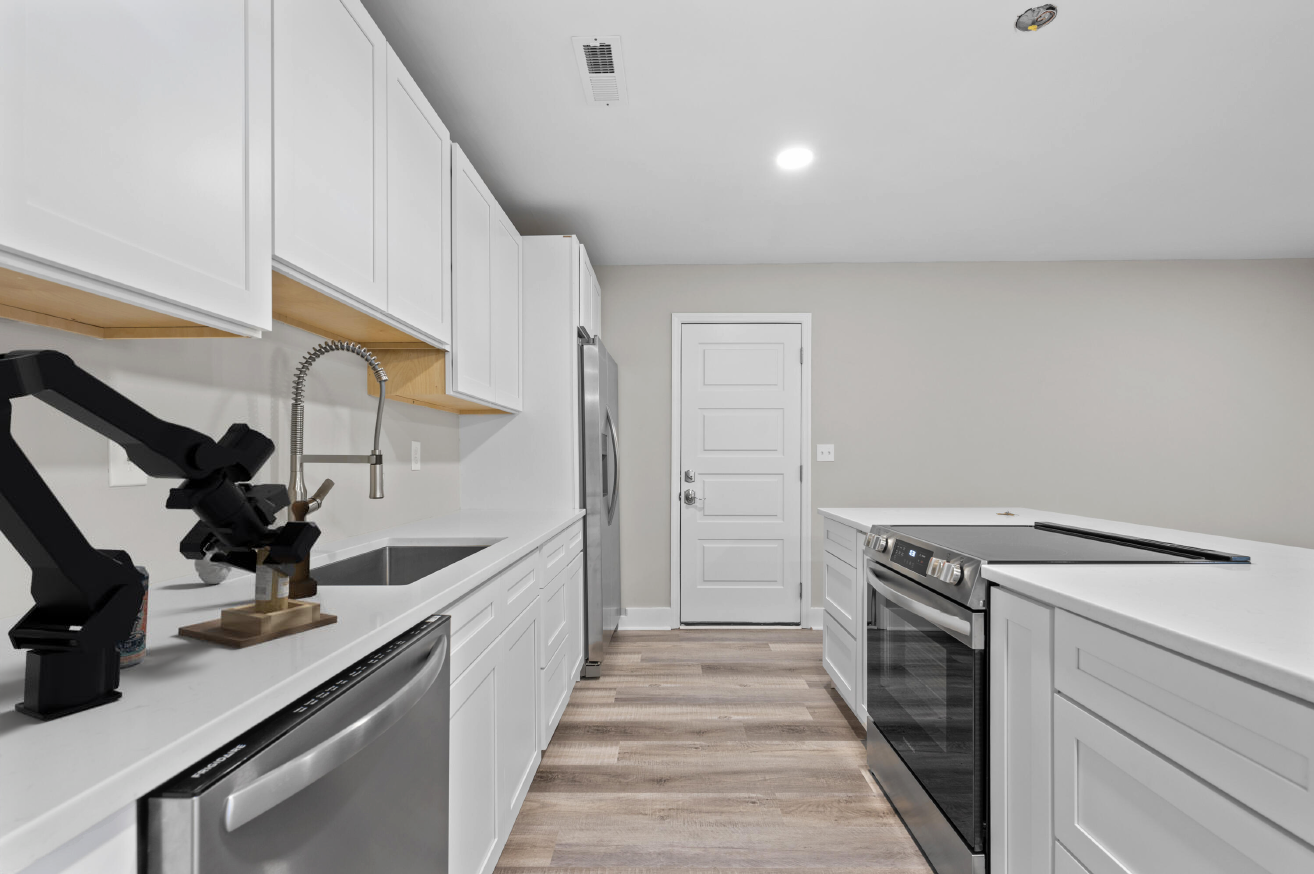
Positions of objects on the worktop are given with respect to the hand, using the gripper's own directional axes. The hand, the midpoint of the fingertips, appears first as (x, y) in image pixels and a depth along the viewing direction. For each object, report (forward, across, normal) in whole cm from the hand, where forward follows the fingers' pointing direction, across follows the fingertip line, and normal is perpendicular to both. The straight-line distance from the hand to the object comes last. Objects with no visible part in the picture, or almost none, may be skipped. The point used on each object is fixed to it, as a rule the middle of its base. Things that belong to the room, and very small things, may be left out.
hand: (279, 573), depth 93 cm
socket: (+6, +2, +6) cm, 9 cm away
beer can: (-6, +7, +19) cm, 21 cm away
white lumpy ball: (+24, +36, -12) cm, 45 cm away
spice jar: (+4, 0, +6) cm, 7 cm away
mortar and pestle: (+20, +13, -8) cm, 25 cm away
